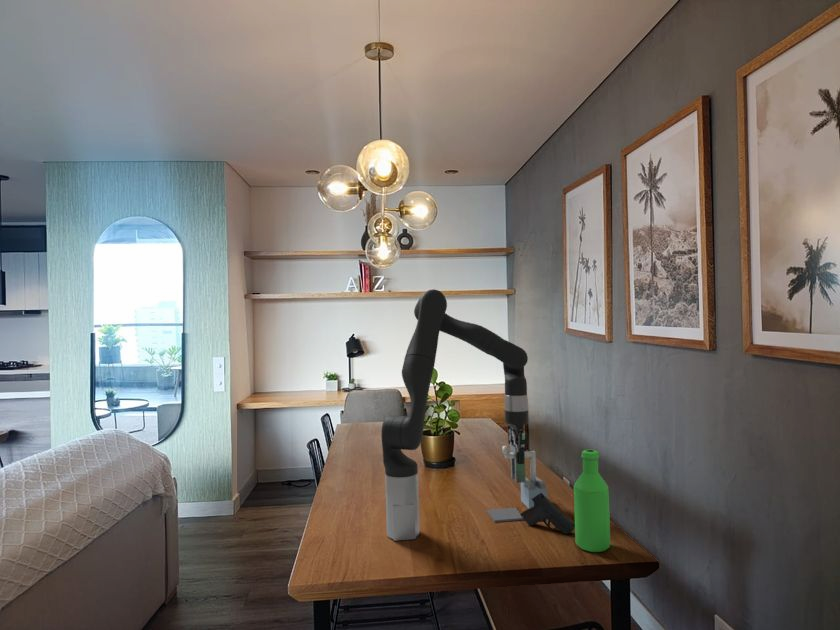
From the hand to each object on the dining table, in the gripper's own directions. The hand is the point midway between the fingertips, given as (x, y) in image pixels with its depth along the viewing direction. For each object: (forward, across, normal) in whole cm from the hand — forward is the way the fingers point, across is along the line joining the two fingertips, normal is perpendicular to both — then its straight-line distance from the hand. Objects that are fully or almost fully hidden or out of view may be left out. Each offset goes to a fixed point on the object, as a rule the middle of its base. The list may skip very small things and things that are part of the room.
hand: (517, 461), depth 175 cm
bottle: (+14, -34, -9) cm, 38 cm away
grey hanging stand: (+14, 0, -2) cm, 14 cm away
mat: (+14, -8, +7) cm, 18 cm away
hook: (+6, 0, 0) cm, 6 cm away
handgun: (+15, -20, -2) cm, 25 cm away
